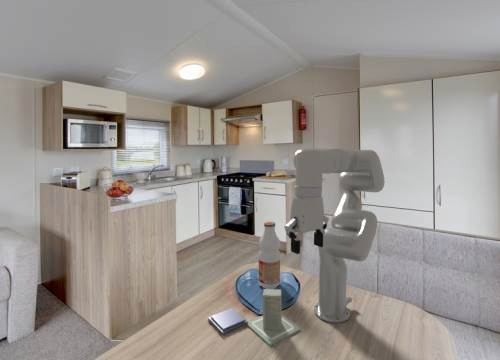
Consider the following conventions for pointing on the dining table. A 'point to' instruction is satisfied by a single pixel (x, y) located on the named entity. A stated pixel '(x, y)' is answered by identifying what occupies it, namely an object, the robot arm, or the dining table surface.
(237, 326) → the ink pad
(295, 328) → the marked board
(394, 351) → the dining table surface
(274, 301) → the skincare box
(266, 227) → the fruit juice
